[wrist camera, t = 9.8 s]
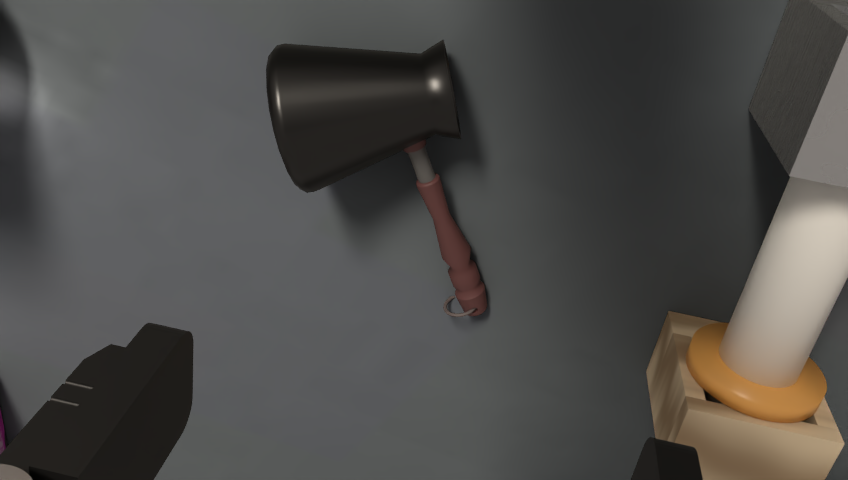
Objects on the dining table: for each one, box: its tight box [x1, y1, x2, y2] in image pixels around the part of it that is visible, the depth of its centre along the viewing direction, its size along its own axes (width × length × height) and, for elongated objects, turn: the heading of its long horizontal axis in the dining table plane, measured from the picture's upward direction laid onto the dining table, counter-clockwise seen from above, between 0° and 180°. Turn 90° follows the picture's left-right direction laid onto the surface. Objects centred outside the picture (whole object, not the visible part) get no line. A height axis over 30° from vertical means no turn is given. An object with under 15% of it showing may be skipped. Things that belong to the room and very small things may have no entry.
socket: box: [646, 311, 844, 480], centre depth 43 cm, size 4×8×9 cm, turn 81°
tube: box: [686, 176, 848, 423], centre depth 38 cm, size 18×7×7 cm, turn 171°
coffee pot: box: [266, 40, 487, 317], centre depth 43 cm, size 8×18×8 cm
